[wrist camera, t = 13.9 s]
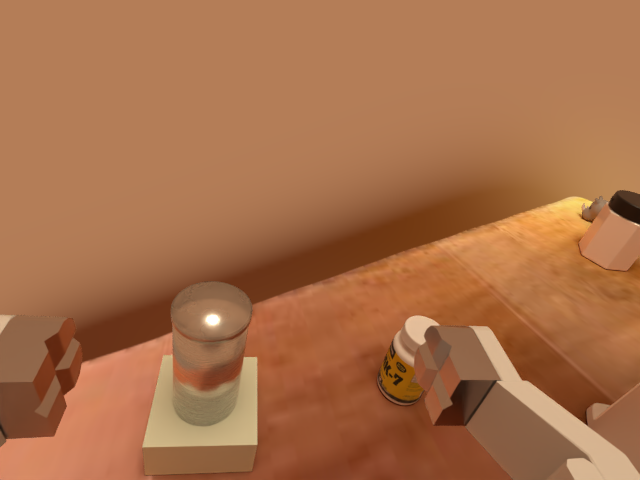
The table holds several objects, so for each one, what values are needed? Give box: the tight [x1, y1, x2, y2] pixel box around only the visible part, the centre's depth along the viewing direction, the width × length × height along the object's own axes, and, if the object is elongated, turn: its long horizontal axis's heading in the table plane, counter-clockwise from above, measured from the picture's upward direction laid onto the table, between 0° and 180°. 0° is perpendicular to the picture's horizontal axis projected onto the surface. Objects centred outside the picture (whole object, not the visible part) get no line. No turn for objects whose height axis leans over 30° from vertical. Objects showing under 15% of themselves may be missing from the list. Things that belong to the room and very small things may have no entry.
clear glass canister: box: [171, 281, 252, 426], centre depth 30 cm, size 5×5×10 cm
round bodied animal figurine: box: [582, 196, 608, 221], centre depth 85 cm, size 7×12×8 cm, turn 40°
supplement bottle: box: [377, 316, 440, 405], centre depth 40 cm, size 5×5×8 cm
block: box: [142, 355, 257, 475], centre depth 34 cm, size 8×8×4 cm
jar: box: [579, 190, 640, 271], centre depth 72 cm, size 9×8×12 cm
